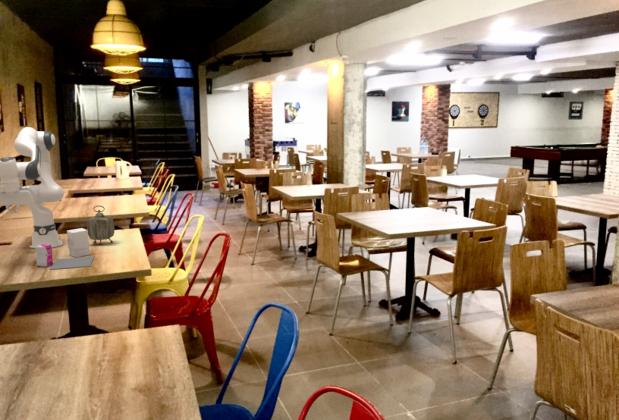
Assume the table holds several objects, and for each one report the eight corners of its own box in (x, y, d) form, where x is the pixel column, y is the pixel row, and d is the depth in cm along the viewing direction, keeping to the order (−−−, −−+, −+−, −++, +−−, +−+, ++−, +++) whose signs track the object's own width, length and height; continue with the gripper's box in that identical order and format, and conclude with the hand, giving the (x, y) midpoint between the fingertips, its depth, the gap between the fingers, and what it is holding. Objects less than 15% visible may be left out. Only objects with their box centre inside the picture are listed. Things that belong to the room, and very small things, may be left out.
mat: (56, 260, 292) (56, 259, 292) (94, 257, 298) (94, 256, 298) (49, 270, 273) (49, 269, 273) (90, 266, 279) (90, 265, 279)
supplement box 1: (46, 267, 278) (44, 246, 276) (36, 266, 280) (34, 246, 277) (53, 264, 284) (51, 244, 282) (44, 263, 285) (42, 243, 283)
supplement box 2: (84, 252, 309) (82, 227, 306) (90, 254, 303) (88, 230, 300) (68, 255, 303) (66, 230, 300) (74, 257, 297) (72, 232, 294)
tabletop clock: (115, 242, 332) (112, 204, 327) (110, 245, 323) (107, 206, 318) (93, 242, 332) (89, 204, 327) (87, 246, 323) (83, 207, 318)
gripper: (33, 186, 281) (36, 210, 284) (-9, 187, 276) (-6, 213, 279) (30, 187, 276) (33, 212, 278) (-13, 189, 270) (-10, 215, 273)
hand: (13, 213), depth 278 cm, fingers closed
